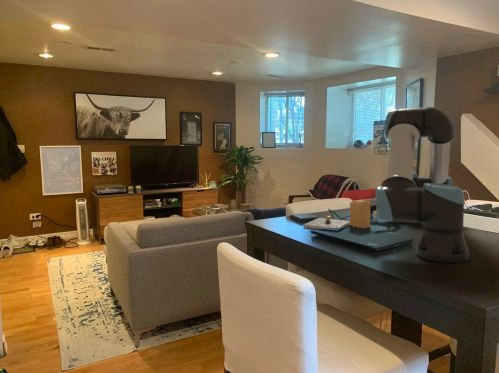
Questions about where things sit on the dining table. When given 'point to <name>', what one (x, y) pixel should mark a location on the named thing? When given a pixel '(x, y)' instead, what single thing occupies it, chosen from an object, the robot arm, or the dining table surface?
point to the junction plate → (326, 223)
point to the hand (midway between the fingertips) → (361, 212)
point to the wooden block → (360, 214)
